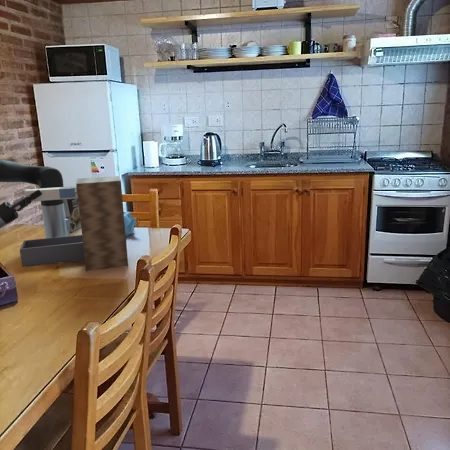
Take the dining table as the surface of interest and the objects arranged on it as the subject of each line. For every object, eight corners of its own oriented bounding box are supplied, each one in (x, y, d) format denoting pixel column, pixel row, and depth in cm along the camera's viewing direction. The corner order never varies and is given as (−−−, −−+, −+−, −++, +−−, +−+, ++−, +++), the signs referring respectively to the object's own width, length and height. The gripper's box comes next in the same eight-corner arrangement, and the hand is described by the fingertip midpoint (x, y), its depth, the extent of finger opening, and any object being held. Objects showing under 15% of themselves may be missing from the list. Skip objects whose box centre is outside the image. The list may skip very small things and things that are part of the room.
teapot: (138, 236, 200) (136, 213, 197) (104, 240, 195) (102, 217, 192) (132, 228, 214) (131, 207, 211) (101, 232, 209) (99, 210, 206)
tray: (22, 267, 164) (19, 249, 163) (26, 257, 176) (23, 240, 174) (107, 257, 173) (105, 240, 171) (106, 248, 184) (104, 232, 182)
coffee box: (73, 231, 210) (69, 199, 206) (61, 231, 212) (57, 198, 208) (82, 226, 219) (79, 195, 215) (71, 226, 220) (67, 195, 216)
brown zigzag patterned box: (83, 271, 158) (73, 183, 150) (84, 260, 170) (74, 178, 161) (128, 265, 163) (120, 180, 155) (125, 255, 174) (118, 175, 166)
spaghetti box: (26, 201, 163) (24, 191, 162) (27, 199, 167) (26, 189, 166) (93, 197, 169) (92, 186, 168) (92, 195, 173) (92, 185, 172)
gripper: (-10, 212, 156) (32, 185, 157) (-2, 204, 169) (36, 179, 171) (4, 228, 158) (45, 202, 160) (11, 219, 171) (49, 195, 173)
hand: (40, 190), depth 165 cm, fingers closed on spaghetti box, 4 cm apart
